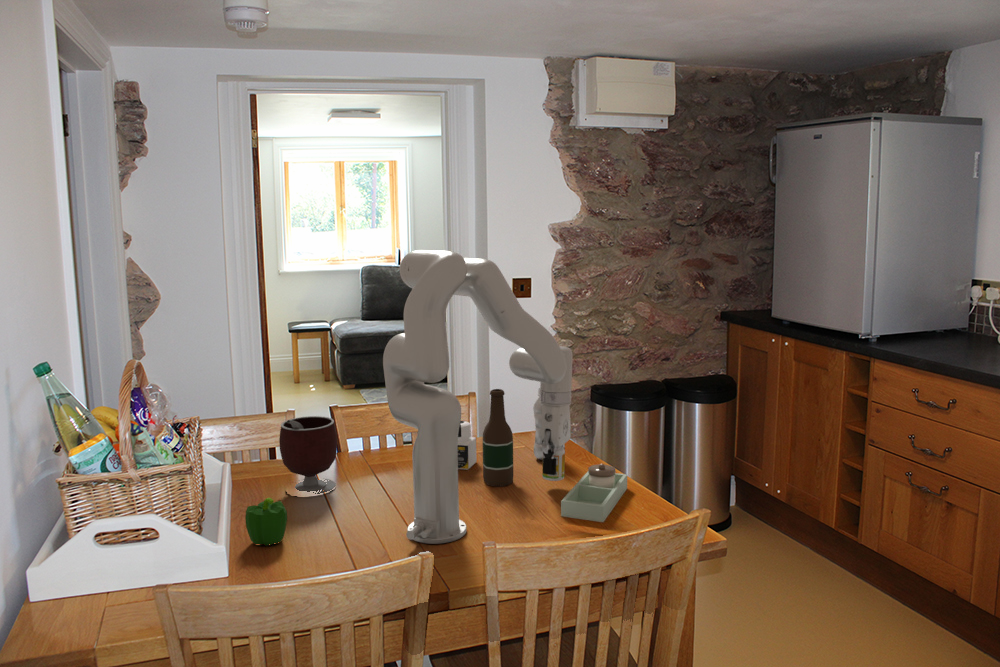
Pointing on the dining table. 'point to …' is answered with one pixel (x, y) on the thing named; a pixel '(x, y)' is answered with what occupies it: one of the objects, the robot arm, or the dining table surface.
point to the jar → (602, 476)
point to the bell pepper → (266, 522)
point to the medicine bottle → (466, 446)
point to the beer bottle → (497, 444)
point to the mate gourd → (309, 450)
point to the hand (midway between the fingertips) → (553, 469)
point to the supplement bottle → (557, 465)
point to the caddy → (592, 499)
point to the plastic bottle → (538, 428)
